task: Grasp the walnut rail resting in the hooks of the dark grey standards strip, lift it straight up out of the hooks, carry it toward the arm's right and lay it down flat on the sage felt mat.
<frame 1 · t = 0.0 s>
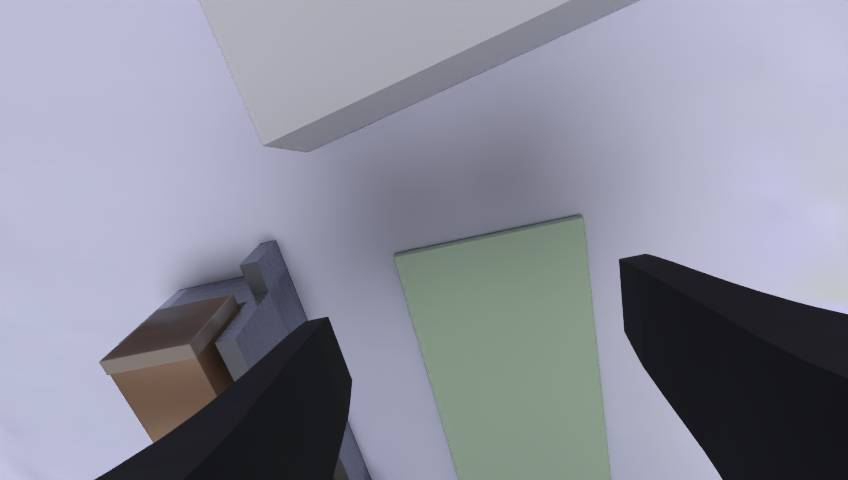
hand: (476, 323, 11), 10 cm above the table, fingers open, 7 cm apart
mat: (517, 395, 24), on the table
rail: (269, 451, 22), point 3 cm above the table, touching standards
standards: (288, 406, 25), on the table
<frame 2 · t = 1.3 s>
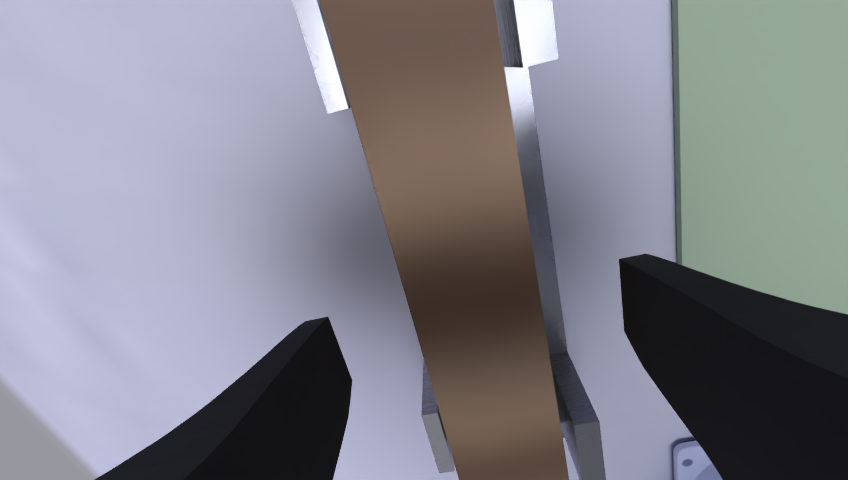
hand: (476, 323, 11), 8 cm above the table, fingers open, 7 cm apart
mat: (794, 197, 17), on the table
rail: (465, 250, 15), point 3 cm above the table, touching standards
standards: (460, 220, 18), on the table
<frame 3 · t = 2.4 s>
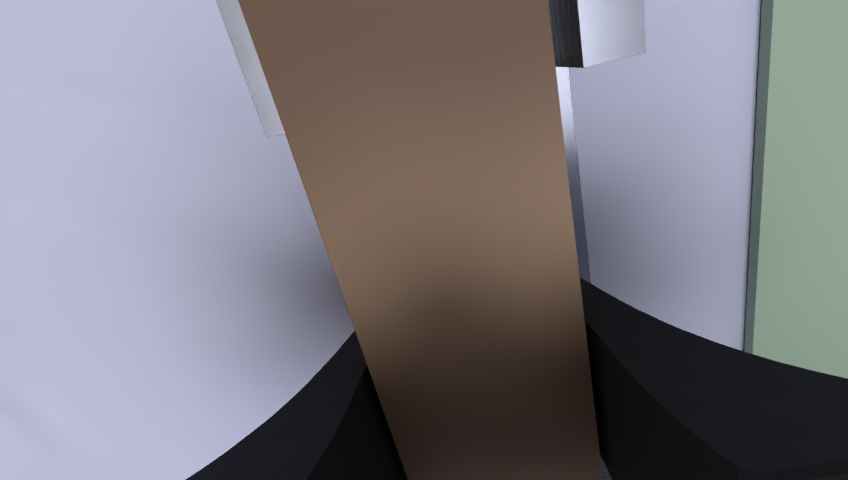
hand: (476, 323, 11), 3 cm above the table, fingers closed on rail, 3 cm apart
rail: (475, 320, 11), point 3 cm above the table, touching gripper, standards
standards: (466, 266, 14), on the table
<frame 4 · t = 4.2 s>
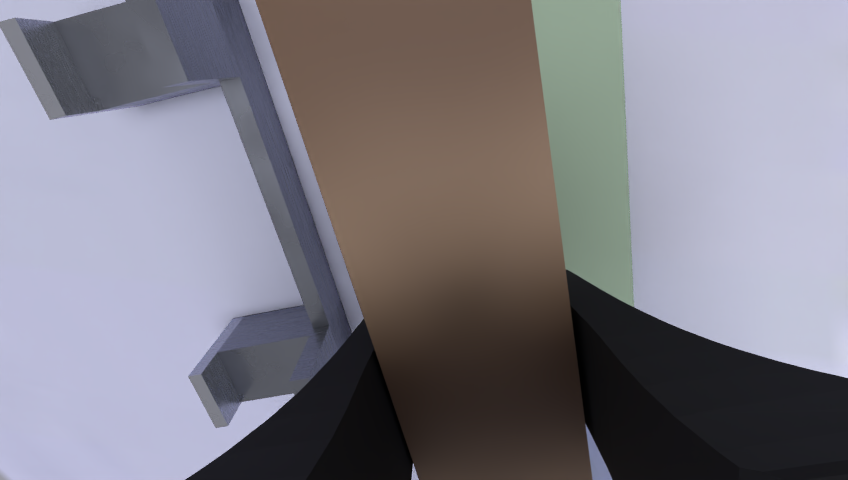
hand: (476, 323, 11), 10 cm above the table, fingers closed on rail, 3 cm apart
mat: (524, 194, 20), on the table
rail: (471, 305, 11), point 9 cm above the table, touching gripper
standards: (244, 211, 20), on the table
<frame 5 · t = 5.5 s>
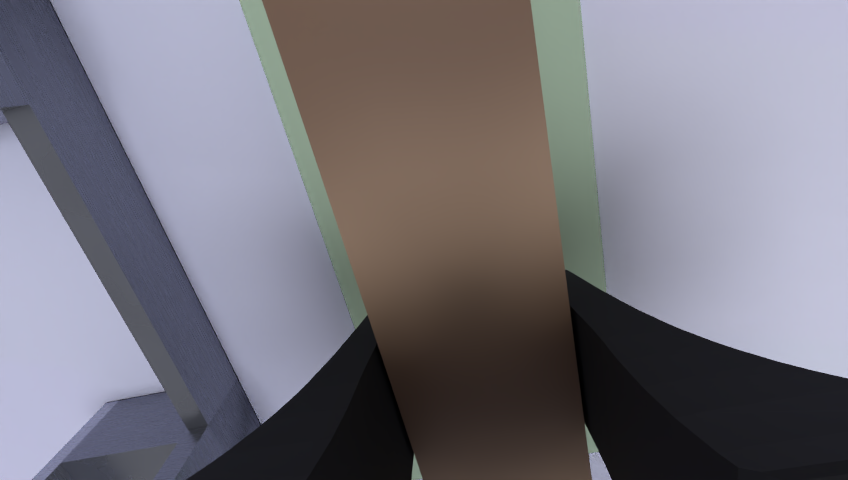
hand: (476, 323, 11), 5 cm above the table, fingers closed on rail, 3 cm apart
mat: (464, 249, 15), on the table
rail: (472, 302, 12), point 4 cm above the table, touching gripper
standards: (99, 273, 16), on the table
when the fingers open (2 cm above the table, at t = 6.4 s): rail stays where it is, resting on mat.
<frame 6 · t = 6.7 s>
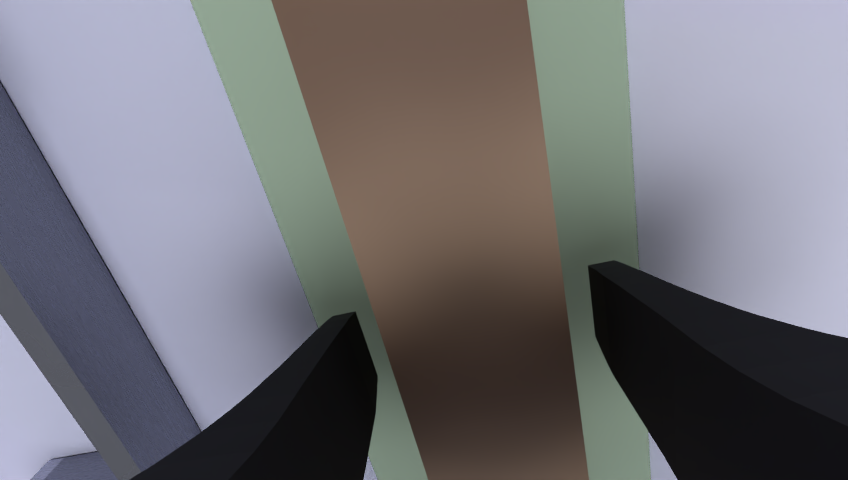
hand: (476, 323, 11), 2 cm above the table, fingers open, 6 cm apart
mat: (470, 287, 12), on the table
rail: (471, 295, 12), resting on mat
standards: (31, 315, 13), on the table
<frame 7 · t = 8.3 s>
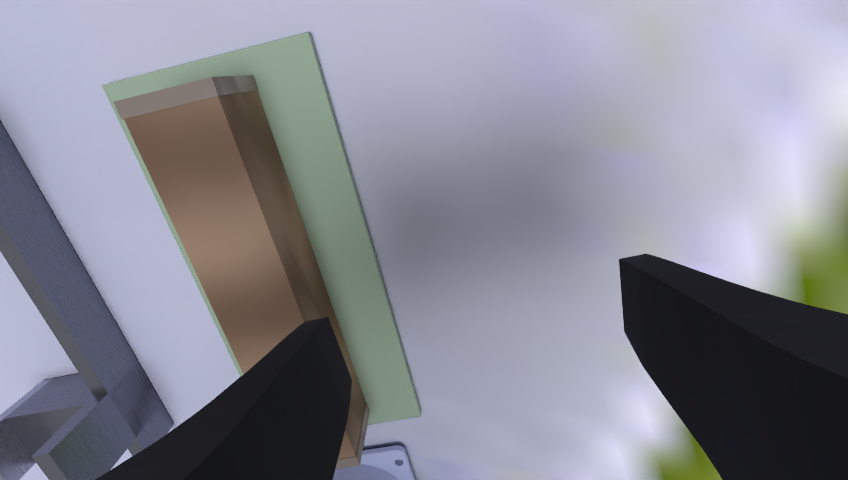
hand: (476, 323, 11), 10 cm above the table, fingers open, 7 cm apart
mat: (288, 272, 21), on the table
rail: (285, 276, 21), resting on mat
standards: (34, 286, 22), on the table
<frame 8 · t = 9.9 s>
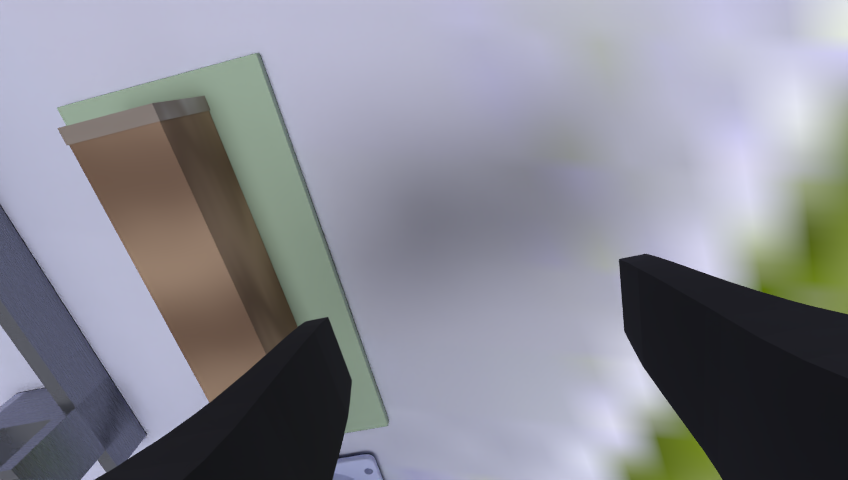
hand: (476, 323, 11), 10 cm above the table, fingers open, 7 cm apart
mat: (250, 286, 22), on the table
rail: (247, 291, 21), resting on mat
standards: (3, 302, 22), on the table
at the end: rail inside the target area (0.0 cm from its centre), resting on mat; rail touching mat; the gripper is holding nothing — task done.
